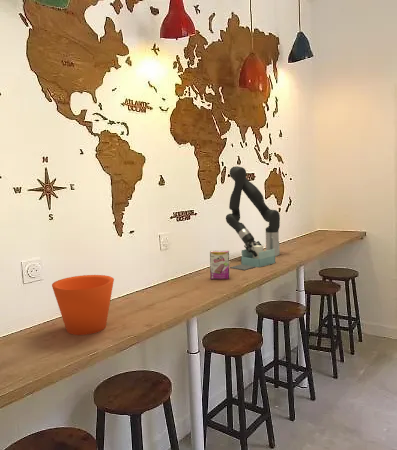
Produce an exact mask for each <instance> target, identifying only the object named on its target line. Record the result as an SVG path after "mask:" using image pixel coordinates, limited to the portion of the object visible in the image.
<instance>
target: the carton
mask: <svg viewBox="0 0 397 450" xmlns="http://www.w3.org/2000/svg"><path fill="white" fill-rule="evenodd" d="M249 250H250V249H249ZM240 262H241V263H240V265H241V264H243V265H249V266H255V268H261V267H266V266H269V265H273V264H275V263H276V256H275V249H272V250H267V251H266V250H263V252H259V259H253V254H252V253H251V252H250V253H249V252H248V251H247V249H246V248H245V249H241V256H240Z"/></svg>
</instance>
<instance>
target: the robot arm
mask: <svg viewBox="0 0 397 450" xmlns="http://www.w3.org/2000/svg"><path fill="white" fill-rule="evenodd" d="M229 176H230V178H231V179H232V180H233V181H234V187H233V190H232V192H231V195H230V198H229V204H228V207H229V208H228V209H229V210H231V213H228V214H227V215H226V216H225V221H226V223H227V224H228V225H229V226H230V227H231V228H232V229H233V230H235V232H236V233H237V235H238V236H239V238H240V240H241V241H242V242H243V244H244V245H243V246H244V248H245V249H247V251H248V252H249V253H250V252H251V253H252V254H253V255H254V256H255V257H256V256H257V253H256V252H255V251H254V247H253V246H256V245H261V246H263V245H262V244H261V242H260V241H259V240H258V241H255V237H254V236H253V234H252V233H251V231H249V229H248V228H247V227H246V226H245V224H244V223H242V222H241V221H240V220H241V211H240V203H241V197H242V191H243V193H244V194H245V195H246V197H247V199H249V201H250V202H251V203H252V204H253V206H254V207H255V208H256V209H257V210H258V212H259V214H260V215H261V217H262V218H263V220H264V221H265V222H266V223H268V226H267V227H266V228H265V251H267V250H272V249H275V257H278V256H280V255H281V254H280V240H279V239H280V237H279V231H280V230H279V229H280V225H281V224H280V223H281V222H280V221H281V220H280V219H281V216H280V212H279V211H278V210H276V209H270V208H269V206H268V205H267V204H266V203H265V198H264V195H263V194H262V192H261V191H260V190H259V188H258V187H257V186H256V185H255V184H253V182H251V181H249V179H247V177H246V176H247V170H246V169H245V168H244V167H243V166H237V165H236V166H232V167H230V169H229ZM249 249H250V250H249Z"/></svg>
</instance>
